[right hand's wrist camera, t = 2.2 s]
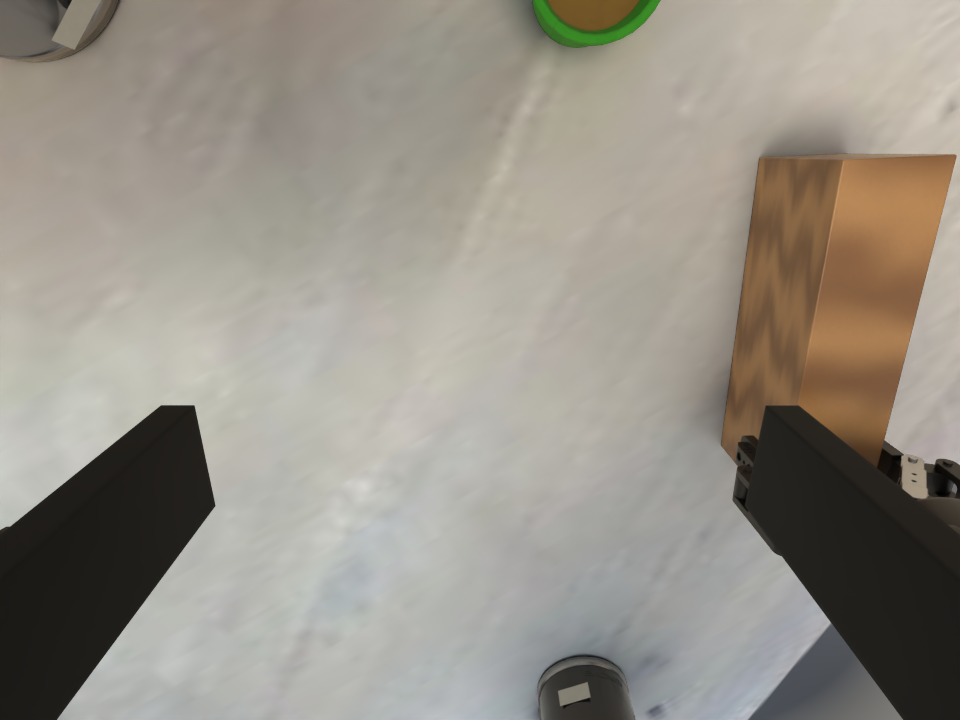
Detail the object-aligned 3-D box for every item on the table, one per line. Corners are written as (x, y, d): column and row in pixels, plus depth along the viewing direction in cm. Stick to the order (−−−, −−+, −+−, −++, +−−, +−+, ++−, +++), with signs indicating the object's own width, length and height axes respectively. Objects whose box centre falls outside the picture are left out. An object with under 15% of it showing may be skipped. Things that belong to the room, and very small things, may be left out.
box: (759, 157, 39) (843, 159, 30) (846, 153, 39) (957, 154, 30) (720, 445, 48) (776, 515, 38) (792, 443, 47) (866, 512, 38)
